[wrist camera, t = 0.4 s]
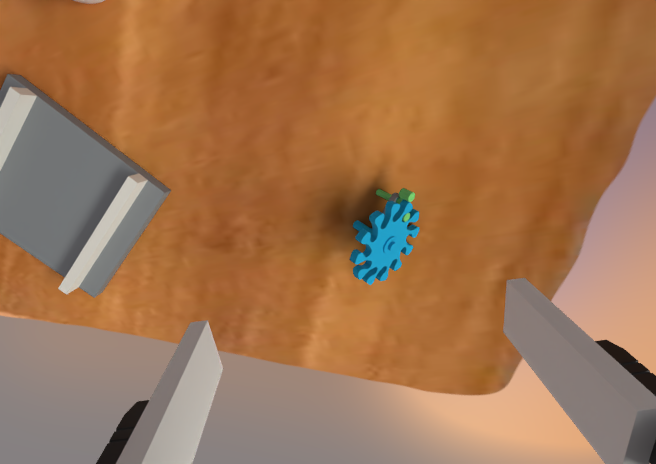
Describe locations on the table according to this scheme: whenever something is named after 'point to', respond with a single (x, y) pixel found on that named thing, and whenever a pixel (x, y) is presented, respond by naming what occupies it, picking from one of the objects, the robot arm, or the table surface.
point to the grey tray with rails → (68, 190)
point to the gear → (385, 237)
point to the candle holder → (89, 1)
